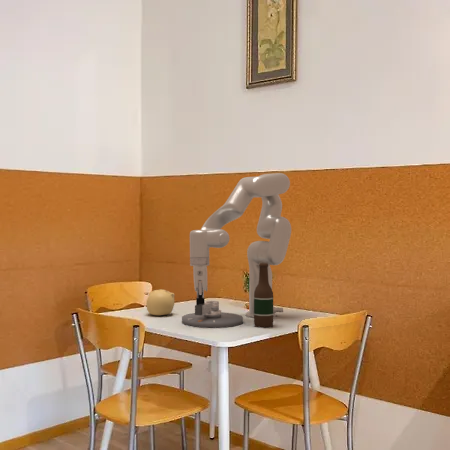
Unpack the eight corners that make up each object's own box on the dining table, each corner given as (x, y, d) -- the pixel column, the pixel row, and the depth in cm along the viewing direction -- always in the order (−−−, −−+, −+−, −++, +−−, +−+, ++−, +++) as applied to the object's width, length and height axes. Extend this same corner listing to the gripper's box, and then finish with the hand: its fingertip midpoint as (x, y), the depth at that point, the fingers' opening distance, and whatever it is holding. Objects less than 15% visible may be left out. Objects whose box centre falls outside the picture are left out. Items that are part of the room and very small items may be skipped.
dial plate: (239, 316, 257) (239, 311, 257) (246, 327, 233) (246, 321, 233) (181, 317, 255) (181, 311, 255) (182, 328, 231) (182, 322, 231)
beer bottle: (258, 328, 231) (259, 264, 231) (249, 324, 238) (250, 262, 238) (277, 326, 234) (277, 263, 234) (267, 323, 241) (268, 262, 241)
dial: (209, 314, 248) (209, 300, 248) (224, 315, 245) (224, 301, 245) (189, 320, 235) (189, 305, 235) (205, 321, 232) (205, 306, 232)
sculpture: (176, 313, 265) (177, 287, 265) (169, 317, 253) (169, 291, 253) (151, 312, 267) (151, 287, 267) (142, 316, 255) (142, 290, 255)
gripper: (209, 263, 233) (210, 311, 234) (209, 259, 248) (209, 305, 249) (189, 263, 233) (190, 312, 234) (190, 260, 248) (191, 305, 249)
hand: (200, 308), depth 241 cm, fingers closed
